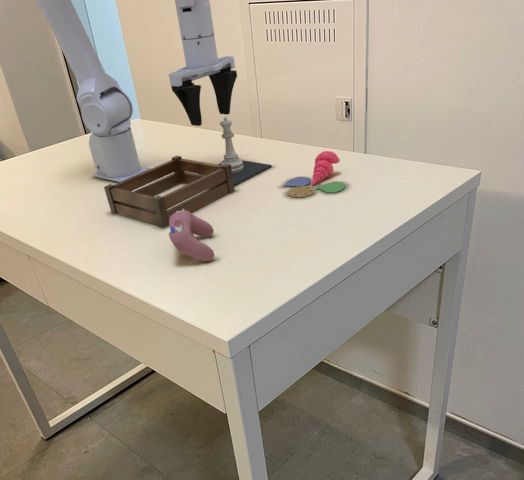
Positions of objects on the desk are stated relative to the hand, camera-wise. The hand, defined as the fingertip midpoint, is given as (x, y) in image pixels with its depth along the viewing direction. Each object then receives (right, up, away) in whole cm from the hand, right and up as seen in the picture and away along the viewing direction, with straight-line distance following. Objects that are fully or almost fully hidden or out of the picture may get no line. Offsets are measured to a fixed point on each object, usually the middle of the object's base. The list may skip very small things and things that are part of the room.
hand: (210, 119), depth 102 cm
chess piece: (+4, -8, +6) cm, 10 cm away
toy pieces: (+19, -14, -4) cm, 24 cm away
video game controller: (0, -28, -20) cm, 35 cm away
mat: (+4, -8, +6) cm, 11 cm away
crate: (-6, -16, -3) cm, 18 cm away
